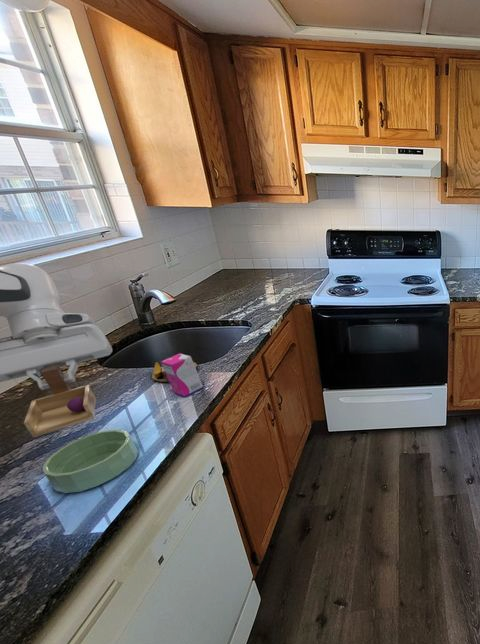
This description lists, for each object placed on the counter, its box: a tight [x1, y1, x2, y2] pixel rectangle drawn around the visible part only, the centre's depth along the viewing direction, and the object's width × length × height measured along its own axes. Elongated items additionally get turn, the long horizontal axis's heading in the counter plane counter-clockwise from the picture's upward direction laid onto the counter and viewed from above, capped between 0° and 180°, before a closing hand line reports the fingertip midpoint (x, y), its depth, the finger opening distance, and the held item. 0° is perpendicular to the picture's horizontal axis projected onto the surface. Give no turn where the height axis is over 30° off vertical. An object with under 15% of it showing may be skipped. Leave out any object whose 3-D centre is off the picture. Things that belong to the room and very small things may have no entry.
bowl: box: [42, 429, 139, 494], centre depth 82 cm, size 14×14×6 cm
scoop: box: [23, 365, 97, 439], centre depth 76 cm, size 12×9×9 cm
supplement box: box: [160, 353, 204, 398], centre depth 110 cm, size 6×6×12 cm
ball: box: [67, 398, 85, 412], centre depth 77 cm, size 3×3×3 cm
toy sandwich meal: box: [151, 361, 198, 383], centre depth 121 cm, size 12×14×5 cm
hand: (58, 385), depth 79 cm, fingers closed on scoop, 2 cm apart
